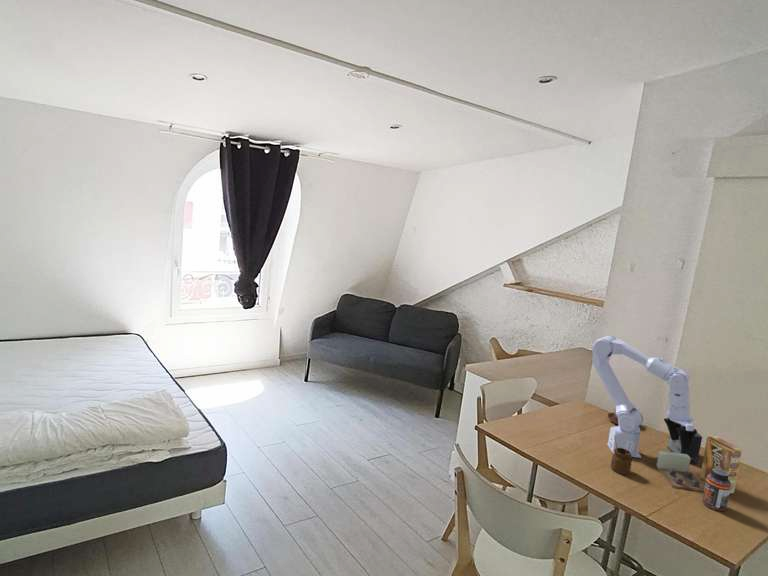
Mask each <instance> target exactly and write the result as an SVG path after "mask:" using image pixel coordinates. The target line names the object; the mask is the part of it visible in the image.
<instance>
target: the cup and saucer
mask: <svg viewBox="0 0 768 576" xmlns="http://www.w3.org/2000/svg"><path fill="white" fill-rule="evenodd" d="M607 418H608V419H609V420H610V421H611V422H612V423H614V424H616V425H619V424H618V417H617V415H616V407H615V406H614V411H613V412H610V413H608V414H607Z"/></svg>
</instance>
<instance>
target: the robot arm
mask: <svg viewBox="0 0 768 576" xmlns="http://www.w3.org/2000/svg"><path fill="white" fill-rule="evenodd" d="M591 351H592V357H591V358H592V359H591V360H592V361H591V362H592V365H593V367H594V369H595V371H596V373H597V375H598V376H599V378H600V380H601V382H602V384H603V386H604V388H605V390H606V392H607V393H608V395H609V397H610V399H611V401H612V403H613V404H614V408H615V407H616V415H617V417H618V424H617V426H611V427H610V429H609V434H608V442H607V443H606V445H607V446H608V448H609V449H610V451H611V452H612V454H613V453H614V450H615V448H616V445H615V440H614V435H615V438H616V443H617V448H623V449H626V450H628V451H629V450H630V452H631V458H638V459H642V456H641V454H640V453H639V452H638V451H639V444H640V438H641V431H642V430H641V429H640V428H641V427H640V425H642V424H643V422H644V415H643V413H642V412H641V411H639V410H638V409H637V408H636V406H635V404H633V403H632V402H631V401H630V399H629V398H628V396H627V394H626V392H625V390H624V388H623V387H622V385H621V383H620V382H619V379H618V377H617V376H616V374H615V372H614V370H613V368H612V367H611V364H610V362H609V361H610V360H611V357H612V355H623V356H625V357H627V358H629V359H631V360H634V361H635V362H637V363H638V364H641V365H643V366H644V367H645V369H646V371H647V372H649V373H650V374H651V375H654V376H656V377H657V378H659V379H661V380H663V381H664V382H667V384H668V385H669V393H668V395H669V410H667V411H666V416H667V418H663V421H664V422H665V424H666V426H667V429H668V433H669V437H671V439H672V440H679V436H680V442H681V447H682V448H683V449H690V446H691V442H692V439H693V437H694V436H695V434H696V433H698V430H697V429H695V427H694V424H693V423H692V422H693V421H694V420H695V419H694V418H693V417H691V416H690V388H689V387H690V386H689V384H690V382H691V376H690V374H689V373H688V372H687V371H686V370H685V369H682V368H679V367H677V366H673V365H671V364H669V363H668V362H666V361H664V360H665V359H664V358H662V357H659V358H658V357H656V356H655V357H654V356H653V357H649V356H648V355H646V354H644V353H643V352H641V351H639V350H638V349H636V348H634V346H631V345H630V344H628V343H626V342H625V341H623V340H622V339H620V338H616V337H615V336H614V335H610V334H609V335H608V334H607V335H605V336H603V337H601V338H598V339H596V340H595V341H594V343H593V344H592V346H591ZM681 425H682V426H683V428H681ZM632 442H633V443H632ZM629 443H630V444H629ZM626 444H627V445H626ZM633 444H634V445H633ZM631 445H632V446H631ZM633 446H634V448H633ZM627 447H628V448H627ZM632 449H633V450H632Z"/></svg>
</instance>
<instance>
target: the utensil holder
mask: <svg viewBox="0 0 768 576" xmlns="http://www.w3.org/2000/svg"><path fill="white" fill-rule="evenodd" d="M614 440H615V445H616V448H615V450H614V453H613V452H612V455H611V460H610V468H611V470H612V471H613V472H615V473H617V474H620V475H629V474H630V472H631V467H632V457H631V452H630V450H629V451H628V450H626V449H623V448H617V443H616V438H615V435H614ZM632 443H633V442H632ZM629 444H630V443H629ZM626 445H627V444H626ZM633 445H634V444H633ZM631 446H632V445H631ZM627 448H628V447H627ZM633 448H634V446H633ZM632 450H633V449H632Z"/></svg>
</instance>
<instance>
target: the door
mask: <svg viewBox="0 0 768 576" xmlns="http://www.w3.org/2000/svg"><path fill="white" fill-rule="evenodd" d="M690 459H691V458H690V457H689V456H688V455H687V454H681V453H674V452H671V451H665V450H659V451H658V455H657V461H656V467H657V469H659V468H660V469H667V470H669V469H673V470H675V471H680V472H689V471H690V469H689V468H690V464H691V462H690Z"/></svg>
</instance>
